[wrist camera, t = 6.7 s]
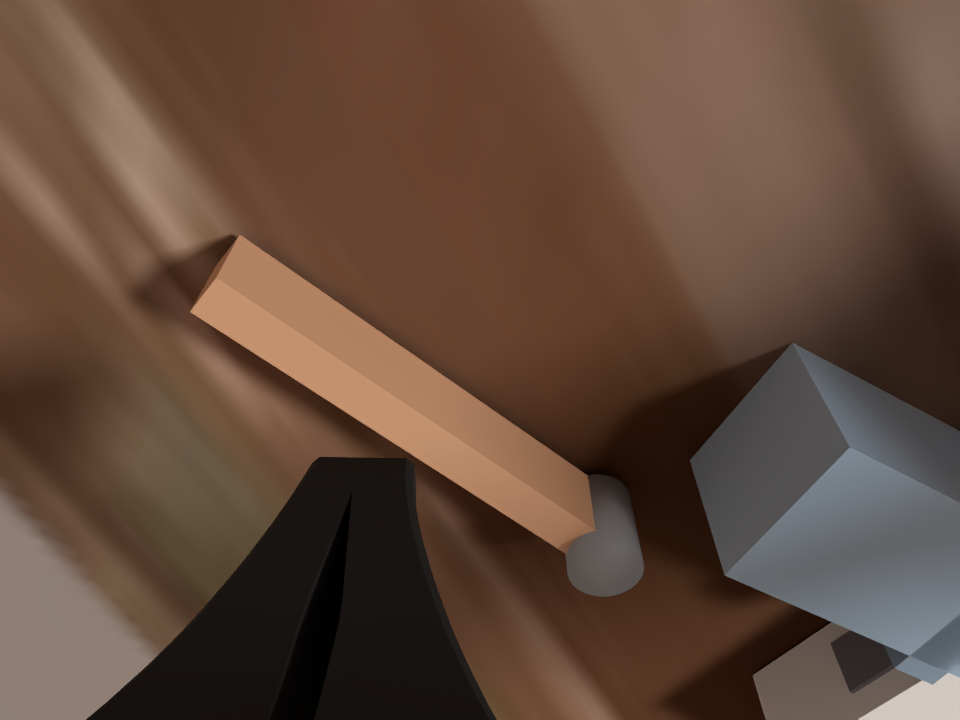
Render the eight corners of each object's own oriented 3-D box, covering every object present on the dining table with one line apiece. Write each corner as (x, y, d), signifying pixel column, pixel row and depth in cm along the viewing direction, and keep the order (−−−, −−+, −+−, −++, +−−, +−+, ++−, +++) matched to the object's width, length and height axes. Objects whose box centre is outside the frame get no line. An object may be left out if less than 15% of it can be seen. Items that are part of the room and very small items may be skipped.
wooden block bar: (205, 279, 20) (173, 335, 18) (250, 221, 19) (221, 273, 17) (595, 537, 24) (606, 607, 22) (644, 498, 23) (660, 566, 21)
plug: (805, 324, 21) (867, 429, 17) (1025, 442, 23) (1120, 558, 19) (677, 472, 23) (710, 589, 20) (885, 568, 25) (948, 691, 22)
